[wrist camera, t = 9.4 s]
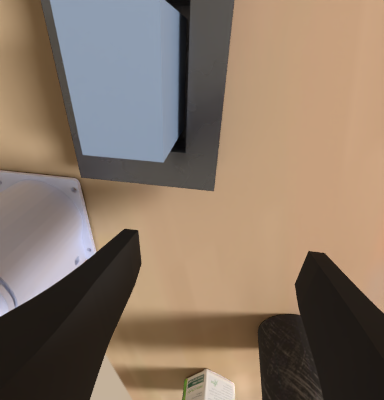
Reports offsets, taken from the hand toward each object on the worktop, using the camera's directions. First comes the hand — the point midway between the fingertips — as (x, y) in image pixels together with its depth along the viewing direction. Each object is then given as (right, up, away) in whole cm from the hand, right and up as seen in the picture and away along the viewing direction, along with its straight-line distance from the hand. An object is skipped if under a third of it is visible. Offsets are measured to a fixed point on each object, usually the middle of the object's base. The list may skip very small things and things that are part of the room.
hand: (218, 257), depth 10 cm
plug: (-4, +10, +4) cm, 12 cm away
